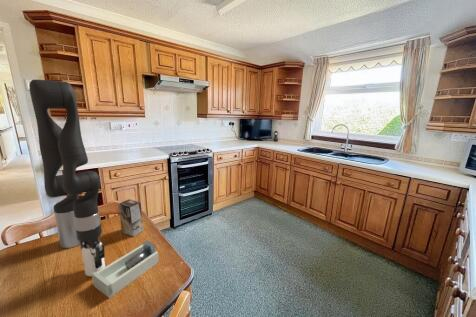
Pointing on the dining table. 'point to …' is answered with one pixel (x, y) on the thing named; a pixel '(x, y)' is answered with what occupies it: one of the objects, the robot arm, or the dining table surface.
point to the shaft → (141, 255)
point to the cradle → (122, 273)
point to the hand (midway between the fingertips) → (94, 263)
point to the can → (90, 260)
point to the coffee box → (131, 217)
